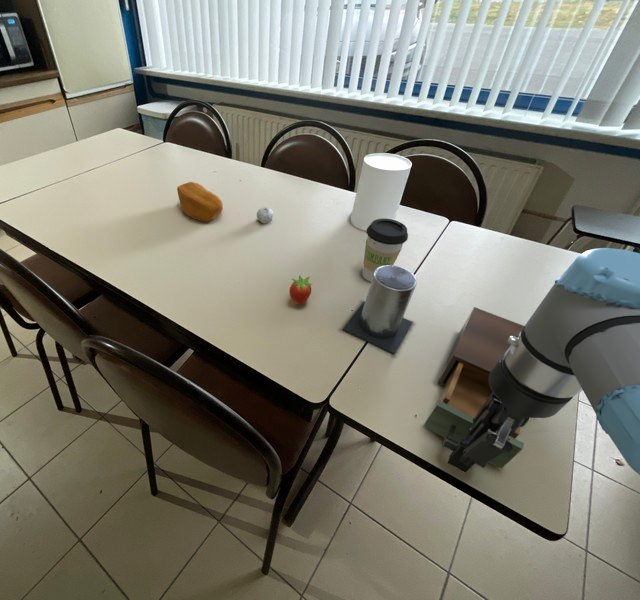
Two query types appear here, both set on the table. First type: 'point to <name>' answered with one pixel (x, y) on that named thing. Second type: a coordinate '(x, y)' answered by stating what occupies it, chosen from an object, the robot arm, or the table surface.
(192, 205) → the bread
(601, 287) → the robot arm
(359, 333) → the mat
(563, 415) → the table surface
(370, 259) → the coffee cup
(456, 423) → the drawer
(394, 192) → the canister
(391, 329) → the silver cylinder
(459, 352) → the cabinet
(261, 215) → the garlic
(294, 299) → the fruit
